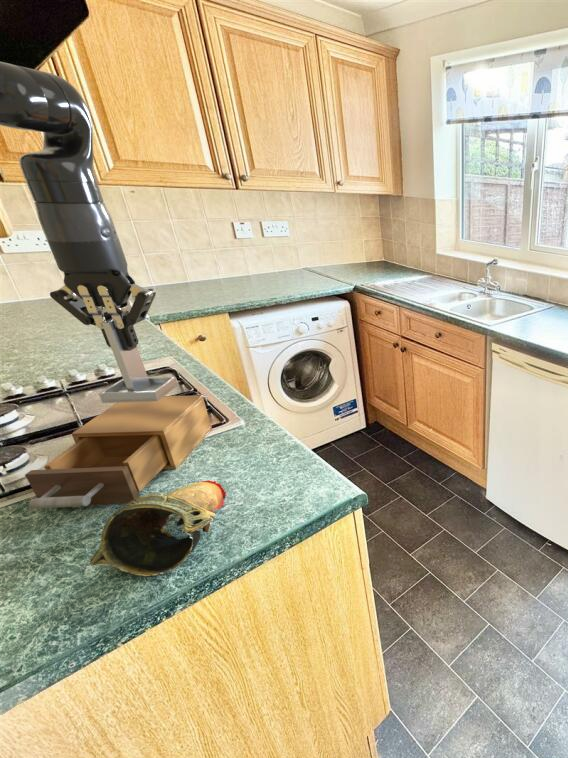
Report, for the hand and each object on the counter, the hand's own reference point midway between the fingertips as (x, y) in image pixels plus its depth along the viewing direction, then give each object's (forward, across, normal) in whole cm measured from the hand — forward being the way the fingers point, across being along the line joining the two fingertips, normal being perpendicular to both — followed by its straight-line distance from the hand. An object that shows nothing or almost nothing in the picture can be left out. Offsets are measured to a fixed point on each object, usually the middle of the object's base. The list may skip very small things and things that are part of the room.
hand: (124, 348), depth 67 cm
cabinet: (+26, +8, -10) cm, 29 cm away
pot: (+26, -10, +18) cm, 33 cm away
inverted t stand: (+8, 0, 0) cm, 8 cm away
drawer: (+25, +8, +4) cm, 26 cm away
